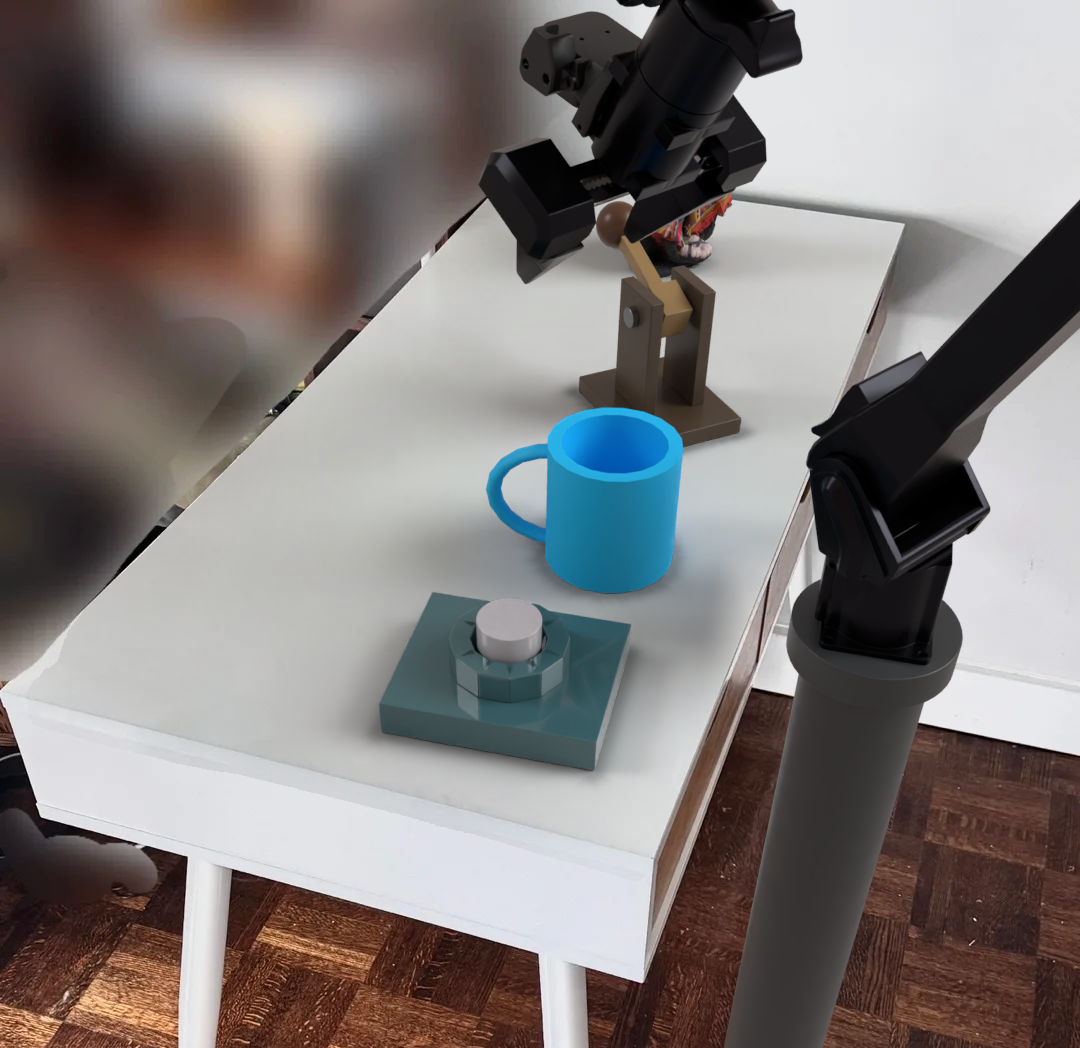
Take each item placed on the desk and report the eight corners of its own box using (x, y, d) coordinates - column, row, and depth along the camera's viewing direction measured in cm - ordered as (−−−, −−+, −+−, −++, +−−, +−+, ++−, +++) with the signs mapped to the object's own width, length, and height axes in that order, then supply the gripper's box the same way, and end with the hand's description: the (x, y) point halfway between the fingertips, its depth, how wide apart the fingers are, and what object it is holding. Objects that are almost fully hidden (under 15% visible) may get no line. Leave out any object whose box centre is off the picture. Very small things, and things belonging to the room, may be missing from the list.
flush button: (548, 627, 74) (549, 603, 73) (533, 669, 72) (533, 645, 71) (486, 617, 75) (485, 593, 74) (468, 658, 72) (468, 634, 71)
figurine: (685, 293, 111) (703, 107, 101) (617, 268, 114) (627, 84, 104) (749, 253, 117) (773, 72, 106) (683, 230, 120) (699, 53, 110)
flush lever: (584, 229, 96) (593, 195, 94) (623, 222, 97) (634, 187, 95) (648, 345, 93) (660, 312, 90) (688, 335, 94) (701, 303, 91)
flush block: (629, 652, 78) (633, 599, 76) (594, 771, 71) (597, 717, 69) (433, 619, 80) (430, 566, 77) (381, 732, 73) (375, 679, 70)
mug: (677, 523, 88) (689, 414, 82) (665, 600, 82) (677, 488, 76) (498, 503, 89) (497, 395, 83) (474, 578, 83) (471, 467, 78)
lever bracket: (578, 390, 100) (582, 265, 93) (671, 368, 102) (682, 245, 95) (642, 457, 93) (652, 328, 86) (740, 432, 96) (757, 305, 89)
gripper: (719, -70, 78) (613, 125, 91) (469, -10, 69) (392, 196, 82) (829, 79, 77) (704, 254, 90) (588, 159, 68) (491, 340, 81)
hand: (577, 257), depth 86 cm, fingers open, 9 cm apart
